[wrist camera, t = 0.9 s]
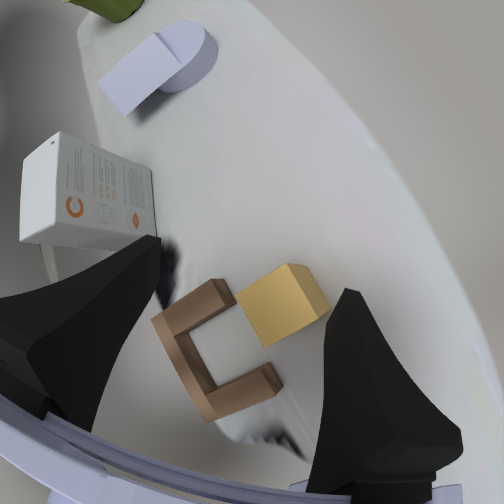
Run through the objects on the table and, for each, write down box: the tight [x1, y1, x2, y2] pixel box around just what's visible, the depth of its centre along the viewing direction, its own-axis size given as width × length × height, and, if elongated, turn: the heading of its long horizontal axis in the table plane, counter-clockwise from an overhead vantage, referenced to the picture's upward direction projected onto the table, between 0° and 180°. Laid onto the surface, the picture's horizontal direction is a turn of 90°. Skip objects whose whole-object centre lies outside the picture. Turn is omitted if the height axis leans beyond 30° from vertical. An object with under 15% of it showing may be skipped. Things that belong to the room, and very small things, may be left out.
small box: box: [20, 131, 156, 251], centre depth 27 cm, size 8×6×13 cm
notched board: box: [151, 279, 283, 423], centre depth 27 cm, size 11×8×2 cm
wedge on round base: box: [97, 20, 218, 118], centre depth 31 cm, size 9×7×13 cm
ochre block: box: [235, 263, 331, 348], centre depth 23 cm, size 4×4×7 cm
